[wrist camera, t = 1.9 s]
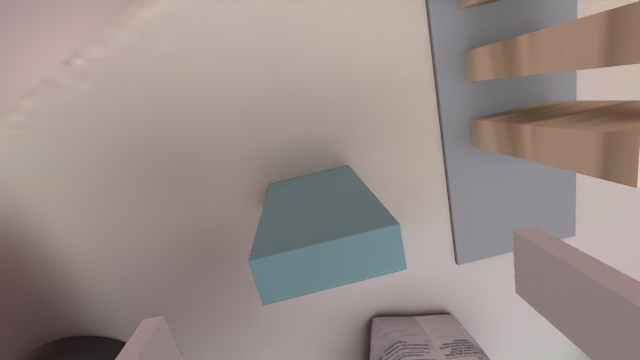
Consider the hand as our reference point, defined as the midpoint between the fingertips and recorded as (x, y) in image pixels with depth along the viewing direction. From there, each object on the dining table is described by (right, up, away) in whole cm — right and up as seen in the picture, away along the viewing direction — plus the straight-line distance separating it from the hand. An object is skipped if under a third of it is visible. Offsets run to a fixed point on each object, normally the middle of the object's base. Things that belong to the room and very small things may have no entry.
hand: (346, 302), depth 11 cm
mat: (+15, +13, +14) cm, 24 cm away
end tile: (-2, +4, +15) cm, 16 cm away
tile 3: (+14, +15, +13) cm, 24 cm away
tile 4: (+16, +9, +15) cm, 23 cm away
